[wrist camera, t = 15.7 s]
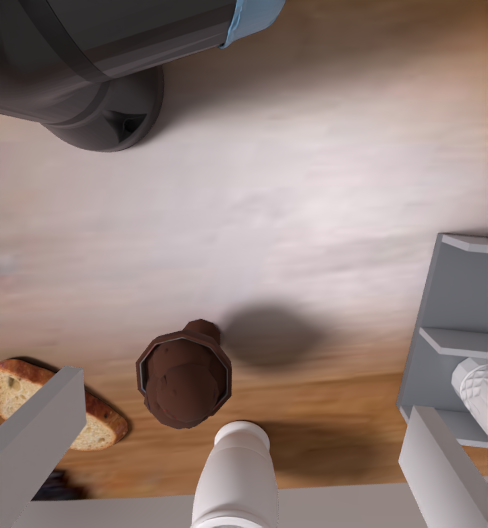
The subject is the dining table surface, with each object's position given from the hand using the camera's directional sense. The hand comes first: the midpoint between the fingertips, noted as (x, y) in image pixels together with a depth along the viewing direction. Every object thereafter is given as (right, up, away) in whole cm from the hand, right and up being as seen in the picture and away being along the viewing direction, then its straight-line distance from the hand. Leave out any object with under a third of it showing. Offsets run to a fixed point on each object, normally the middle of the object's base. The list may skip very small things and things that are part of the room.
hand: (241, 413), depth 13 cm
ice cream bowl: (-6, -4, +32) cm, 32 cm away
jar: (0, -21, +36) cm, 42 cm away
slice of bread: (-28, -15, +37) cm, 49 cm away
